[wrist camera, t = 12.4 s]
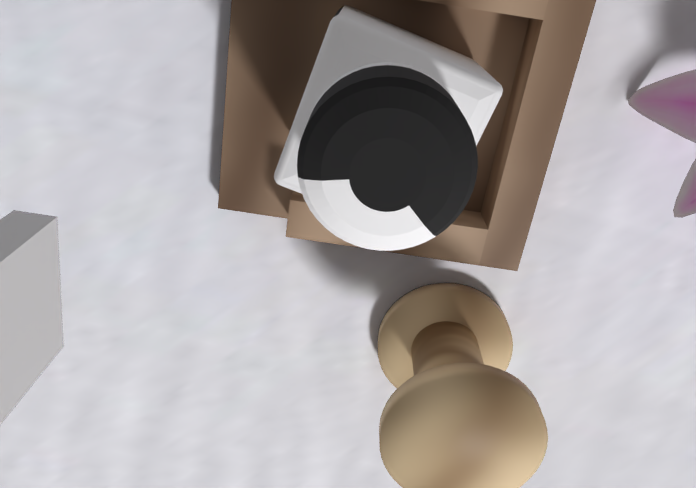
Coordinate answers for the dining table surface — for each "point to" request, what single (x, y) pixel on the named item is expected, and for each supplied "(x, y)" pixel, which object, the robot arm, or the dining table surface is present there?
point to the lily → (673, 122)
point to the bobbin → (455, 394)
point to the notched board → (441, 28)
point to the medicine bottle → (387, 133)
